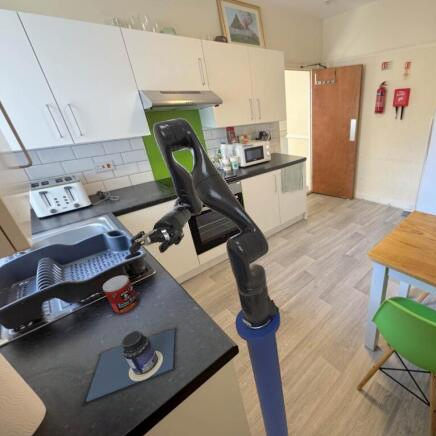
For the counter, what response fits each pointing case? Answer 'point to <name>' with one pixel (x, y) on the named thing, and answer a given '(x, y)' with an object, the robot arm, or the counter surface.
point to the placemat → (122, 372)
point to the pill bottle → (139, 352)
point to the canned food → (120, 294)
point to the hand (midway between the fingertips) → (145, 251)
